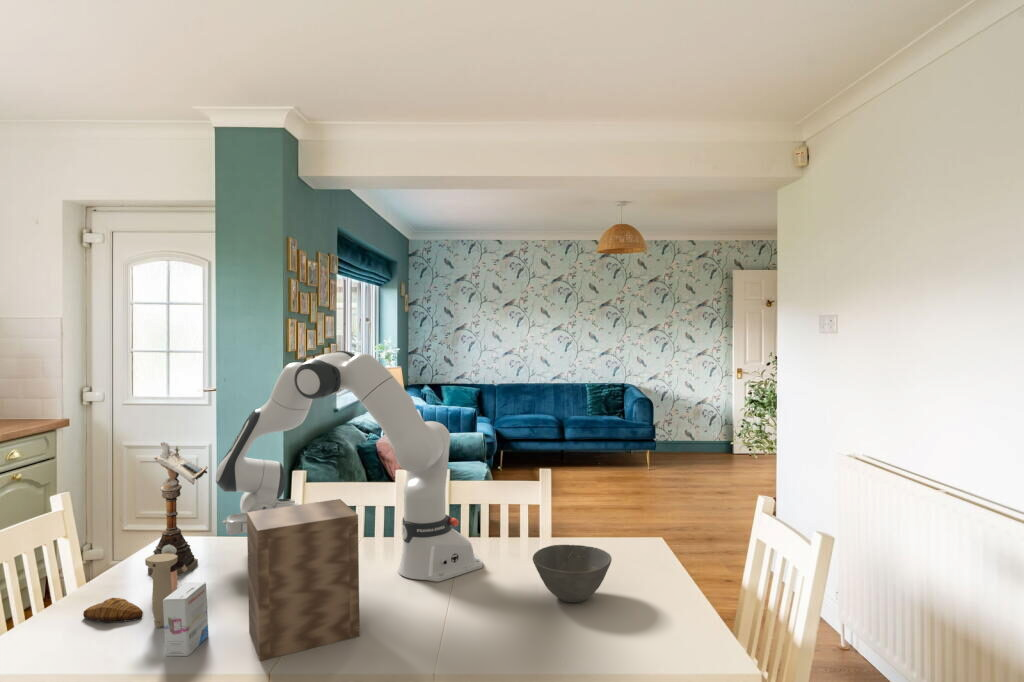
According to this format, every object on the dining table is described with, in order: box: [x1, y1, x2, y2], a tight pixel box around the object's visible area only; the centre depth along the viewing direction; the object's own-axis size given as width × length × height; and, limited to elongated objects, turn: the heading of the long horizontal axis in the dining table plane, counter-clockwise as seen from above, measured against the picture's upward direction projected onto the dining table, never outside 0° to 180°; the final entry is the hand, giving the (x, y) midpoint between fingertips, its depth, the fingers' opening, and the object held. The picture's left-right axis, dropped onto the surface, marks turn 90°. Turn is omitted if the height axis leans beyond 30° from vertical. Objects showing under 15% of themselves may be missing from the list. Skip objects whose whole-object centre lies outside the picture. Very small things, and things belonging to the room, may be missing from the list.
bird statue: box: [147, 441, 208, 576], centre depth 177 cm, size 17×13×35 cm
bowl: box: [532, 544, 613, 603], centre depth 157 cm, size 19×19×10 cm
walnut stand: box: [246, 498, 361, 662], centre depth 139 cm, size 20×14×26 cm
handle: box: [144, 554, 177, 629], centre depth 144 cm, size 5×6×15 cm
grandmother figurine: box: [150, 544, 187, 593], centre depth 158 cm, size 8×4×13 cm, turn 131°
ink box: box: [163, 581, 209, 657], centre depth 134 cm, size 9×5×12 cm, turn 178°
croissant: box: [82, 597, 144, 623], centre depth 147 cm, size 14×7×5 cm, turn 86°
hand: (271, 528), depth 170 cm, fingers open, 8 cm apart
